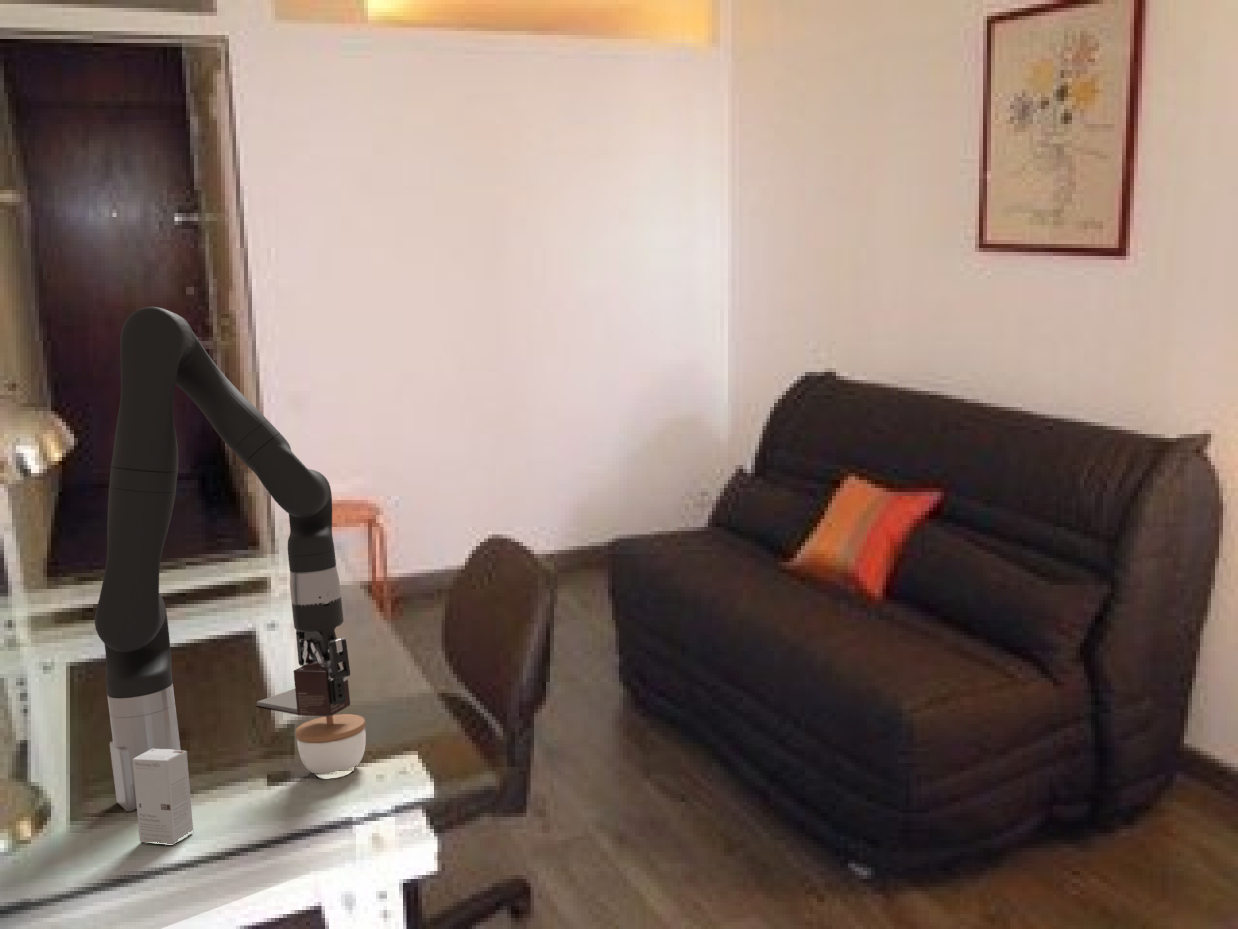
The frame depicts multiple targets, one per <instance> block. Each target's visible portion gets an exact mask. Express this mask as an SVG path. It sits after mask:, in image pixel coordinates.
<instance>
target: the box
mask: <svg viewBox="0 0 1238 929" xmlns="http://www.w3.org/2000/svg"><path fill="white" fill-rule="evenodd" d="M342 666H343V662H342ZM330 669H331V668H330ZM343 669H344V668H343ZM331 671H332V670H331ZM293 680H294V689H295V692H296V702H297V713H296V714H297V716H300V717H301V716H302V717H303V716H304V717H329V716H332V715H337V714H338V713H339V712H341V711H343V710H345V709H346V708H348V707H350V706H351V700H350V687H349V686H350V685H349V676H348V677H345V678H343V680H344V690H345V702H344V703H341V704H337V705H333V704H331V702H330V694H329V684H328V681H329V680H328V678H327V671H326V670H322V669H321V668H320V665H319V663H318V661H314V662H312V663H309V664H306V665H304V666H303V665H302V666H300V667H298V668H296V669H294V670H293Z"/></svg>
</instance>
